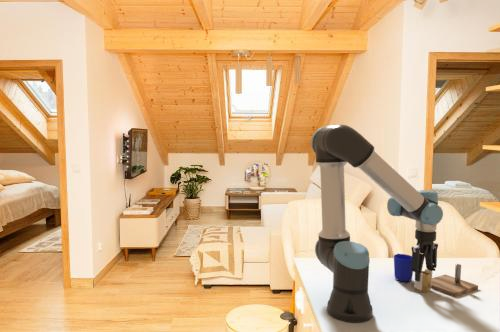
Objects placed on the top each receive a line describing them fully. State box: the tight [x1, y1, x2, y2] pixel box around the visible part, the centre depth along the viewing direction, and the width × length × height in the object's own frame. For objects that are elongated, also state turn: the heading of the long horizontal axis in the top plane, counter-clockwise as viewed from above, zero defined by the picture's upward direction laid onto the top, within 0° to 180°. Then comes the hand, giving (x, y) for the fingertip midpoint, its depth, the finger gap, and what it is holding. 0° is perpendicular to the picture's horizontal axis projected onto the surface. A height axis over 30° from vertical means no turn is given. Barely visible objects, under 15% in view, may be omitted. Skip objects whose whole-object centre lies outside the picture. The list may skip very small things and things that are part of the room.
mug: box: [393, 253, 414, 283], centre depth 164 cm, size 8×12×10 cm
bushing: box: [414, 270, 432, 294], centre depth 151 cm, size 5×5×7 cm
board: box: [431, 274, 479, 298], centre depth 155 cm, size 16×14×2 cm
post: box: [454, 263, 462, 285], centre depth 154 cm, size 3×3×8 cm
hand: (423, 287), depth 151 cm, fingers closed on bushing, 5 cm apart
